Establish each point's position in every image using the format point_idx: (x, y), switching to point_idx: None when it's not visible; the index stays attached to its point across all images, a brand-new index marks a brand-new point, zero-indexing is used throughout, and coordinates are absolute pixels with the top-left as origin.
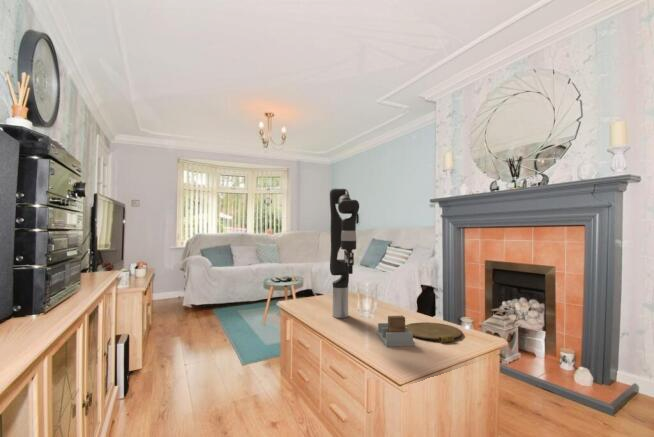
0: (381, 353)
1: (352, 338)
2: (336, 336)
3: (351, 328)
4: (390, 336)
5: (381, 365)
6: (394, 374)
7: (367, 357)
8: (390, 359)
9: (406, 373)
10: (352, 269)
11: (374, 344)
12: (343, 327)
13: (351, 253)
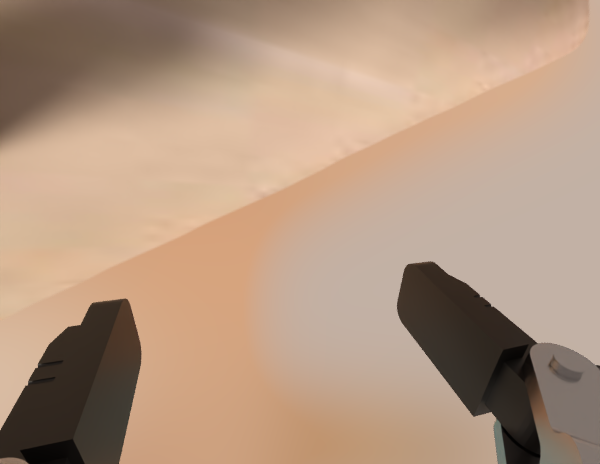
0: (440, 41)
1: (284, 123)
2: (256, 185)
3: (146, 103)
4: None
5: (509, 73)
6: (563, 51)
7: (451, 103)
8: (489, 24)
9: (576, 9)
10: (472, 299)
11: (360, 41)
12: (132, 143)
13: None
